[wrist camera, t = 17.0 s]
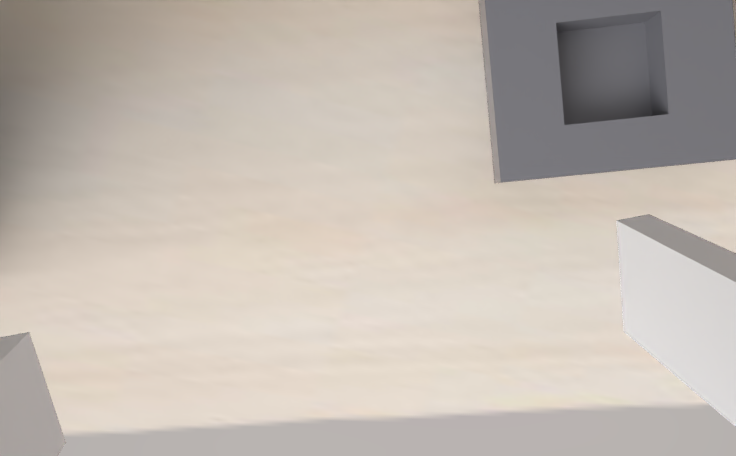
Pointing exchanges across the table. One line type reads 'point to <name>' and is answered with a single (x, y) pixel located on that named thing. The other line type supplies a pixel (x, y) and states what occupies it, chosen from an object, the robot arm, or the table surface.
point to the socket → (608, 85)
